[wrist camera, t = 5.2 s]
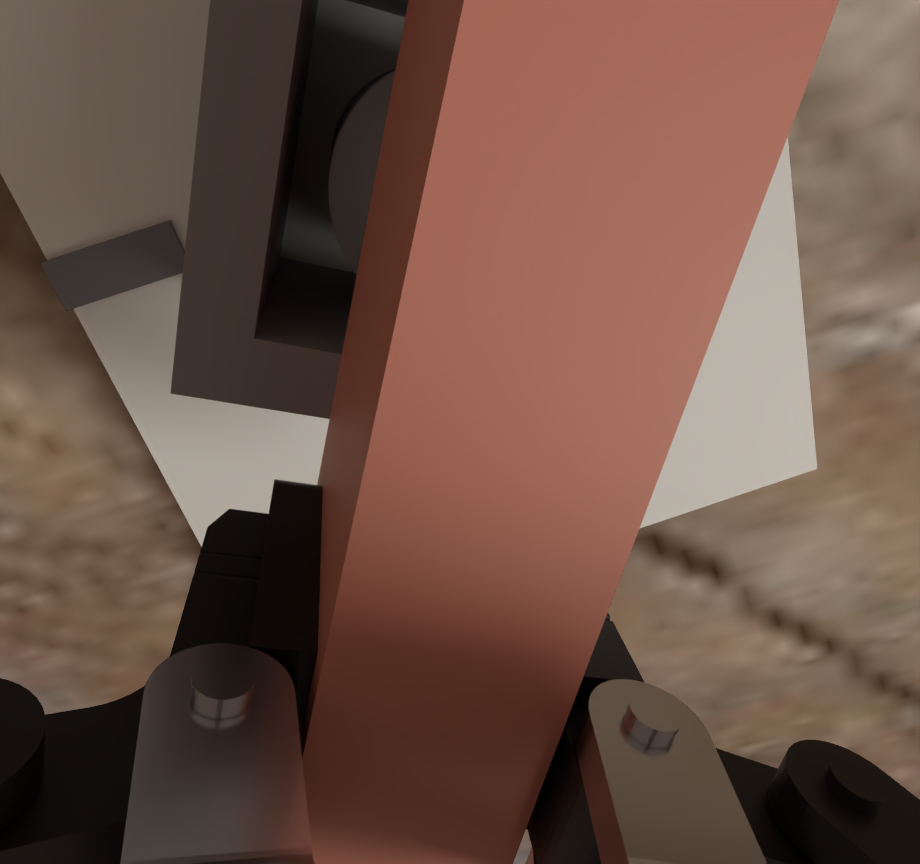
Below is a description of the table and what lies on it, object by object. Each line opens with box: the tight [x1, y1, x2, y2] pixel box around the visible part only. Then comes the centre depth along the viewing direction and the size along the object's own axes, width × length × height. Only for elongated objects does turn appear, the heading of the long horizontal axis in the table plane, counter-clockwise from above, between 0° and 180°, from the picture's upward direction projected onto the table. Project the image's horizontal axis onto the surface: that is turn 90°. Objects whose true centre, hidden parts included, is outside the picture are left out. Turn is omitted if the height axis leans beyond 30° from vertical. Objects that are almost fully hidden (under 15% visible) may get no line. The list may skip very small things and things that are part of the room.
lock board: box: [0, 0, 817, 547], centre depth 13 cm, size 20×15×6 cm
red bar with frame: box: [170, 0, 839, 864], centre depth 10 cm, size 14×7×10 cm, turn 166°
